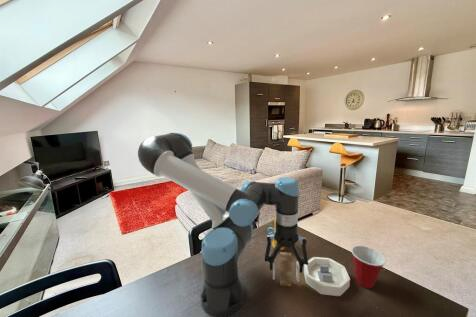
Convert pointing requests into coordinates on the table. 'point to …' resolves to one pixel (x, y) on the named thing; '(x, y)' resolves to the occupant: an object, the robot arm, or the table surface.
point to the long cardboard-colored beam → (285, 268)
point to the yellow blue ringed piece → (273, 234)
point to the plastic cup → (367, 265)
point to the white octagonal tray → (326, 276)
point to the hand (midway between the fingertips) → (285, 277)
